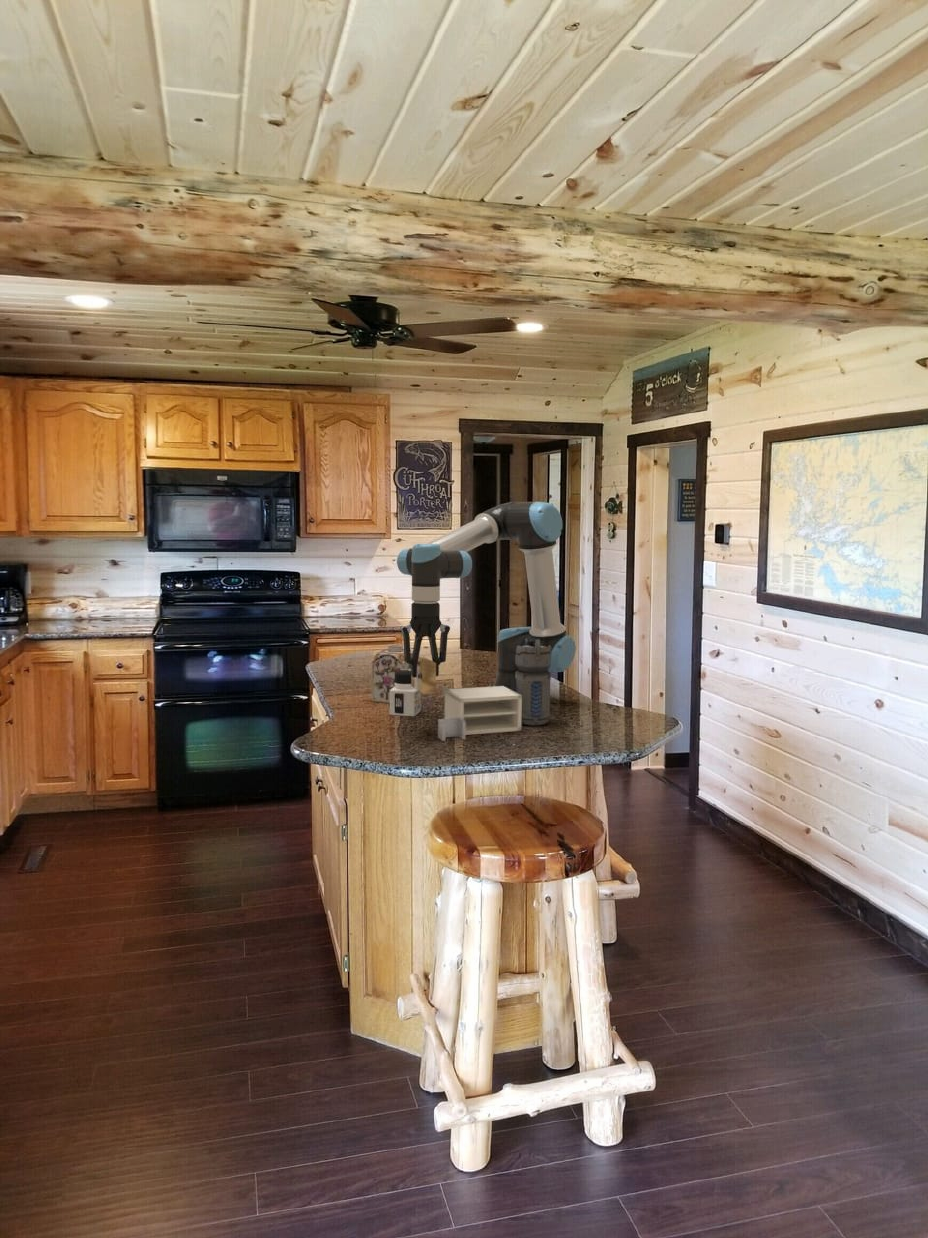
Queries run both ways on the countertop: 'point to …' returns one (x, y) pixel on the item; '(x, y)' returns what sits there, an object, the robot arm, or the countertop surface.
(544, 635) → the robot arm
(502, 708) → the block
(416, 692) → the container
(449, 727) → the bracket
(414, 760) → the countertop surface
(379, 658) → the decorative jar
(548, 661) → the beverage bottle
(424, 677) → the oak door
